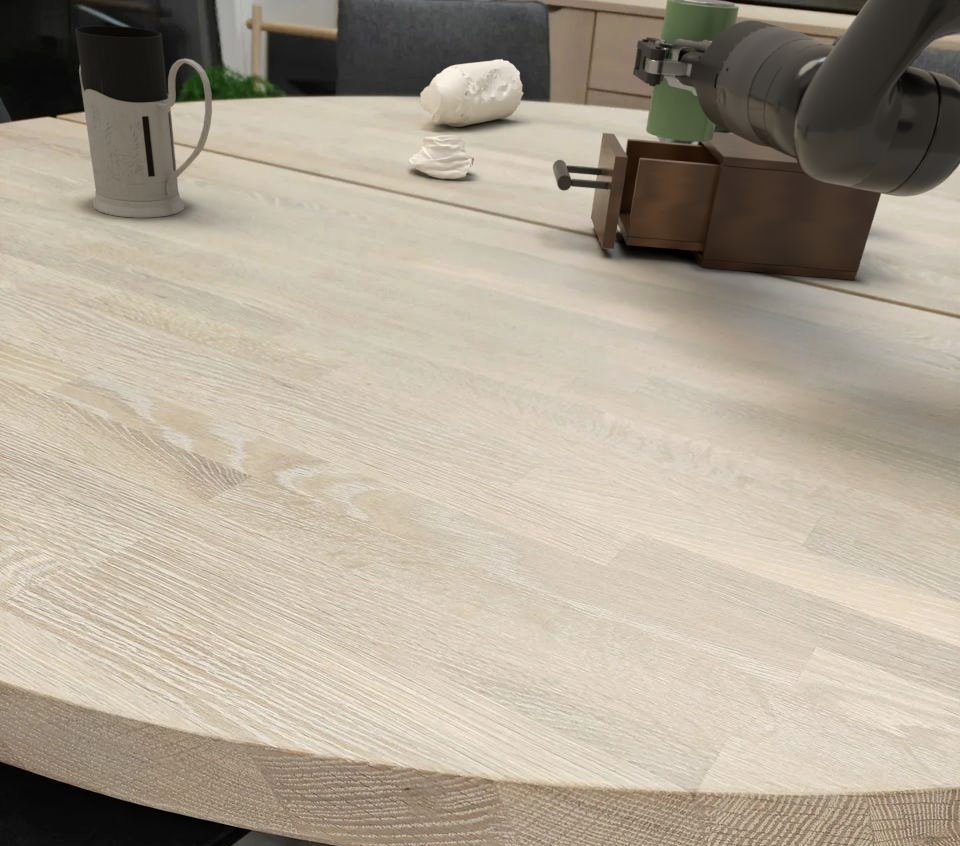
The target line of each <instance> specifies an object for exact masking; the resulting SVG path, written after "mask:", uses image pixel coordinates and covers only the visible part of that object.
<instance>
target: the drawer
mask: <svg viewBox="0 0 960 846" xmlns="http://www.w3.org/2000/svg"><path fill="white" fill-rule="evenodd" d="M625 145H626V146H625V150H624V148H623V145H621V143H620V141H619V139H618V137H617V136H616V134H615V133H610V132H609V133H607V132H602V136H601V142H600V151H599V155H598V156H599V157H598V164H597V167H593V166H581V165H571V164H570V165H569V164H567V163H566V162H565V161H564V160H563V159H558V160H557V159H556V160H555V161H554V163H553V164H552V171H553V175H554V178H555V182H556V184H557V187H558V189H559V190H560V191H563V192H564V191H569V189H570V188H571V187H573V188H575V187H576V188H585V189H586V188H587V189H594V191H593V200H592V207H591V215H590V220H591V223H592V225H593V227H594V231H595V233H596V236H597V238H598V241H599V245H600V246H601V249H607V250H614V249H615V244H616V238H617V231H618V228H619V231H620V233H621V236H622V237H623V240H624V242H625V244H626V246H632V247H633V246H635V247H645V248H659V249H670V250H671V249H672V250H680V251H691V250H693V251H703V247H704V242H705V237H706V232H707V227H708V223H709V218H710V213H711V208H712V203H713V199H714V194H715V189H716V184H717V179H718V174H719V170H720V165H721V163H720V162H719V161H718V160H717V159H716V158H715V157H714V156H713V154H712V153H711V152H710V151H709V150H708V149H707V148H706V147H705V146H704V145H694V144H683V143H672V142H660V141H659V140H647V139H638V138H637V139H636V138H627V140H626V144H625ZM571 174H579V175H591V176H596V179H595V180H593V179H582V178H581V179H580V178H572V177H571Z"/></svg>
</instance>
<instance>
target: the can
mask: <svg viewBox="0 0 960 846" xmlns="http://www.w3.org/2000/svg"><path fill="white" fill-rule="evenodd" d="M739 10H740V6H737V5H735V3H734V2H731V1H727V0H666V4H665V11H664V17H663V24H662V29H661V35H660V36H661V37H660V39H662V40H666V42H670V43H674V42H675V40H676V39H692V40H697V41H703V40H714V39H715V38H716V37H717V36H718V35H719V34H720V33H721V32H723V31H724V30H725V29H727V28H728V27H730V26H732V25H734V24H736V23H737V19H738V15H739ZM692 51H695V49H691V50H690V51H689V52H692ZM668 59H672V52H671V51H669V54H668ZM714 130H715V124H714V123H713V122H711V121H710V120H709V119H708V118H707V116H706V115H705V113H704V112H703V110H702V108H701V106H700V103H699V100H698V97H697V96H695V95H693V93H692V92H691V91H689V90H685V89H680V88H676V87H672V86H669V84H668V81H667V79H666V78H663V82H662V83H660V85H656V86H652V92H651V97H650V104H649V109H648V115H647V122H646V127H645V131H646V133H647V134H650V135H652V136H654V137H657V136H658V137H662V138H667V139H673V140H680V141H693V142H702V141H709V140H712V139H713V135H714Z"/></svg>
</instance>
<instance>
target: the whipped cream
mask: <svg viewBox="0 0 960 846" xmlns="http://www.w3.org/2000/svg"><path fill="white" fill-rule="evenodd" d="M422 142H423V145H421V147H420V149H419V151H418V153H414V155H412V157H410V158H408V160H407V162H408V164H410V165H411V166H412V167H413V168H414V169H416V170H417V171H419V172H421V173H424V174H425V175H428V176H430V177H433V178H437V179H442V180H445V179H449V180H457V179H461V178H464V177H466V176H467V173H468V172H469V170H470V169H469V168H470V167H471V168H472V166H474V161H475V158H474V156H473V155H472V154H469V153H468V152H466V148H465V147H466V145H465V144H466V143H465V140H464V139H462V137H461V136H459V135H436V136H425V137H423V139H422Z"/></svg>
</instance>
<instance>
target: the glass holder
mask: <svg viewBox="0 0 960 846" xmlns="http://www.w3.org/2000/svg"><path fill="white" fill-rule="evenodd" d="M74 30H75V38H76V44H77V52H78V60H79V69H78V74H79V81H80V87H81V95H82V102H83V109H84V117H85V122H86V123H85V124H86V130H87V131H86V132H87V138H88V144H89V152H90V158H91V167H92V173H93V180H94V188H95V192H94V194H95V196H94V199H93V201H92V207H93V209H95V210H96V211H98V212H100V213H103V214H106V215H111V216H114V217H121V218H137V219H139V218H141V219H142V218H144V219H145V218H146V219H147V218H161V217H167V216H172V215H176V214H178V213H180V212H182V211H183V210H184V209H185V204H184V201H183V200H182V198H181V195H180V192H179V185H178V183H179V182H178V178H179V176H180V175H181V174H182V173H184V171H186V170H187V169H188V168H189V167H190V166H191V164H192V163H193V162H194V161H195V159H196V158H198V156H199V155H200V154H201V152H203V150H204V147H205V144H206V142H207V140H208V137H209V132H210V129H211V123H212V116H213V115H212V114H213V98H212V97H213V95H212V88H211V81H210V80H209V77H208V75H207V73H206V71H205V69H204V68H203V67H202V65H201V64H199V63H198V62H197V61H195V60H193V59H190V58H181V59H178V60H176V61H175V62H174V63H173V64H172V65H171V66H170V69H169V73H168V77H167V76H166V63H165V56H164V55H165V54H164V53H165V52H164V44H163V34H162V33H161V32H159V31H156V30H152V29H146V28H140V27H132V26H131V27H130V26H119V25H118V26H117V25H88V26H87V25H85V26H79V27H76V28H75V29H74ZM184 64H187V65H189V66H191V67H192V68H193V69H195V71H196V72H197V73H198V75H199V78H200V80H201V82H202V84H203V85H202V86H203V92H204V119H203V126H202V130H201V133H200V137H199V140H198V142H197V144H196V147H195V149H194V150H193V152H192V153H191V154H190V155H189V157H188V158H187V159H186V160H185V161H184V162H183V163H182V164H181V165H180V166H178V168H177V163H176V161H177V160H176V154H175V153H176V152H175V151H176V149H175V141H174V131H173V120H172V107H174V105H175V104H176V99H177V96H176V95H177V93H176V91H177V90H176V80H177V79H176V78H177V73H178V71H179V69H180V67H181V66H182V65H184Z"/></svg>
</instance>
